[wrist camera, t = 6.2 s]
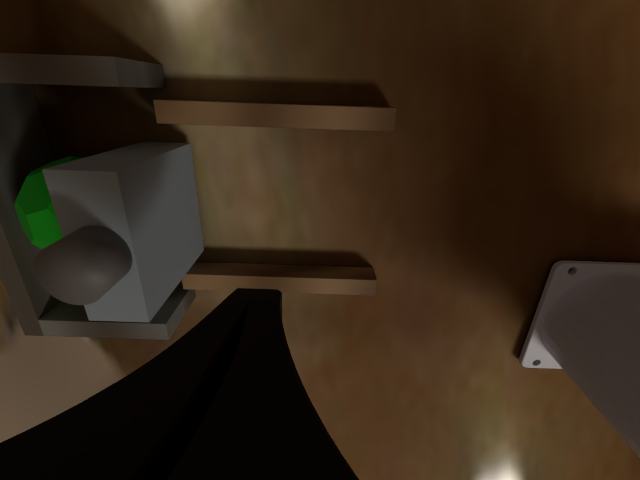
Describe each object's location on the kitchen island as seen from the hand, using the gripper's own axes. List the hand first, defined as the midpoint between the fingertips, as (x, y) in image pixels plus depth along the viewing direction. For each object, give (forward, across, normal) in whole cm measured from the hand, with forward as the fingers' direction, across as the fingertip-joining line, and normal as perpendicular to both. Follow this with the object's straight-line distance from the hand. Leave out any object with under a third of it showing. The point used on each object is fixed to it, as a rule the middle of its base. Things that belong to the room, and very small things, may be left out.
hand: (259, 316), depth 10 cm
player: (+9, +6, -1) cm, 11 cm away
